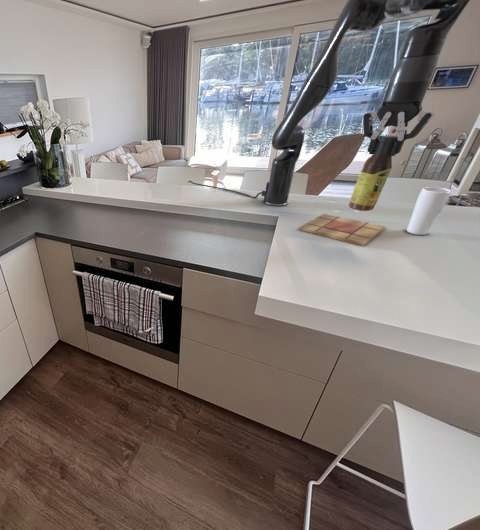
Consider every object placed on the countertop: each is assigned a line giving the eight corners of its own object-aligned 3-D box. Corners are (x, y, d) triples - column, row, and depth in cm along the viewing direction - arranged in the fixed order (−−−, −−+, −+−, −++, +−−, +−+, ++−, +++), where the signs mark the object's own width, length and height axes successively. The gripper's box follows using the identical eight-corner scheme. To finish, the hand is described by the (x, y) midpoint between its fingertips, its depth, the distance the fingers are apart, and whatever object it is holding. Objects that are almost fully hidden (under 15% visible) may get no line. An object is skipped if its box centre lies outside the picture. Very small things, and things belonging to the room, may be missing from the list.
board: (299, 229, 108) (300, 226, 107) (323, 216, 118) (324, 213, 117) (363, 246, 94) (364, 242, 93) (384, 228, 104) (385, 225, 103)
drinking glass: (426, 230, 100) (447, 187, 93) (432, 237, 95) (455, 193, 88) (401, 227, 103) (419, 186, 96) (405, 234, 98) (425, 191, 91)
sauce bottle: (368, 213, 82) (400, 138, 71) (343, 208, 86) (370, 136, 76) (377, 207, 85) (408, 135, 74) (352, 202, 89) (379, 133, 79)
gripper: (455, 76, 66) (421, 155, 74) (379, 81, 76) (356, 150, 84) (447, 77, 62) (412, 160, 71) (368, 83, 72) (345, 154, 81)
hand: (381, 154), depth 78 cm, fingers closed on sauce bottle, 4 cm apart
